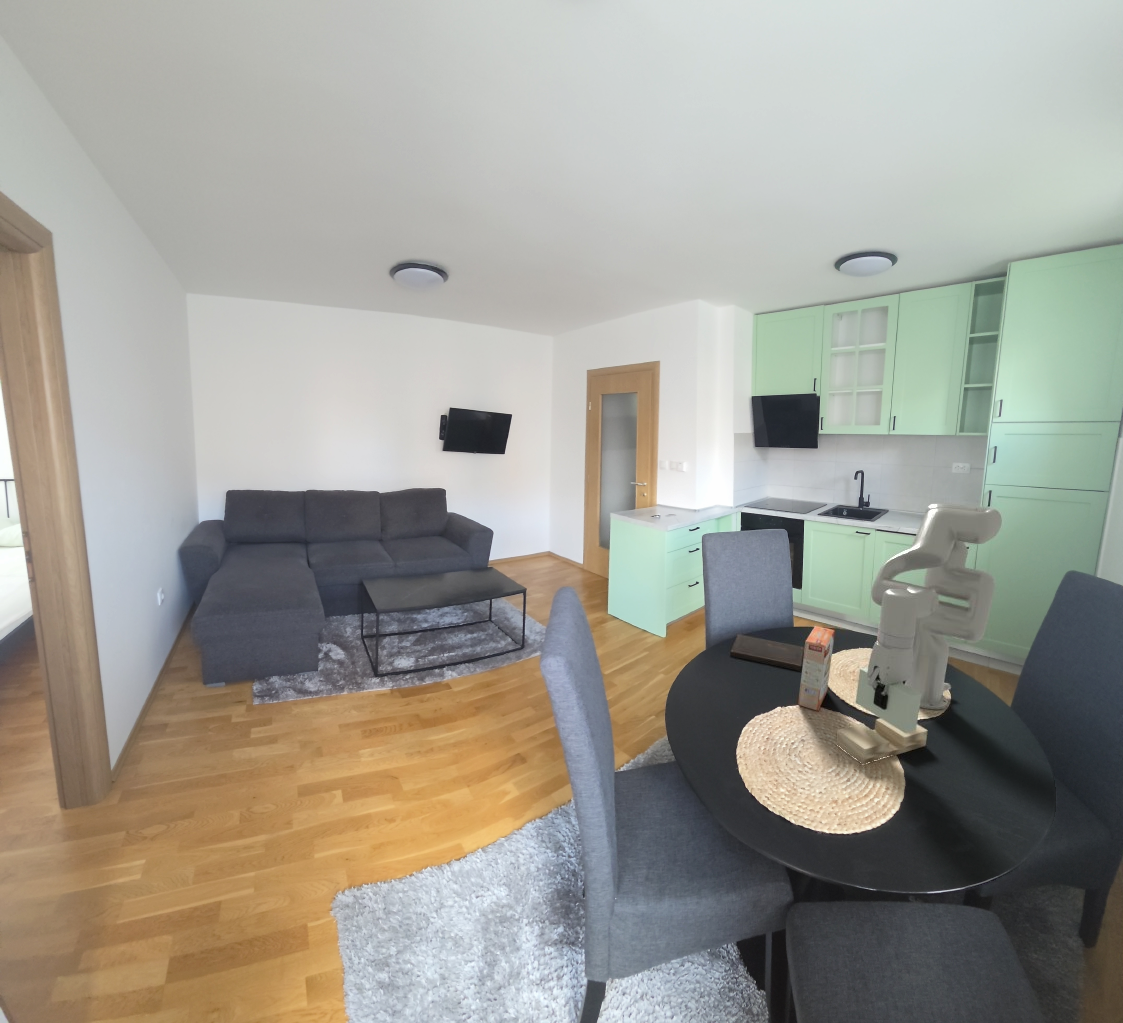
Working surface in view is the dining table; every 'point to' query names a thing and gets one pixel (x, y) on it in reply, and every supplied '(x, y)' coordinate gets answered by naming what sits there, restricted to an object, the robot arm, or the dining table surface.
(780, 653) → the hardcover book
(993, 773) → the dining table surface
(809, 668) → the cracker box
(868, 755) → the slotted rail
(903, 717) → the pale green plate
